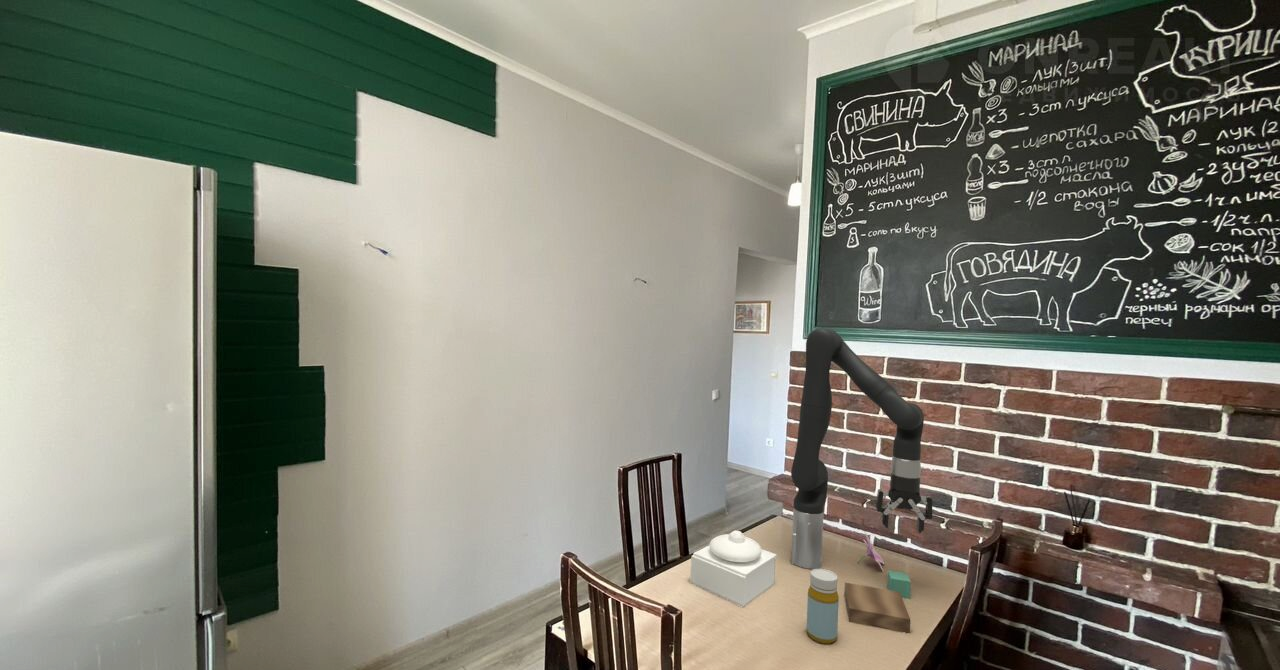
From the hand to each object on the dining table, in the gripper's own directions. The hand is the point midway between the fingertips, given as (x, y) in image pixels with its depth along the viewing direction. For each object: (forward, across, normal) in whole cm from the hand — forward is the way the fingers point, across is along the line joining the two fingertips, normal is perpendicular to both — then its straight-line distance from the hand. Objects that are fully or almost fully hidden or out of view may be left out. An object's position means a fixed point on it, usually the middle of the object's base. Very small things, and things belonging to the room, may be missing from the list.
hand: (902, 529), depth 144 cm
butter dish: (+19, -46, -14) cm, 51 cm away
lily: (+19, -5, +15) cm, 24 cm away
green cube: (+18, 0, -1) cm, 18 cm away
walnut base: (+19, -8, -15) cm, 25 cm away
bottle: (+18, -22, -31) cm, 42 cm away
